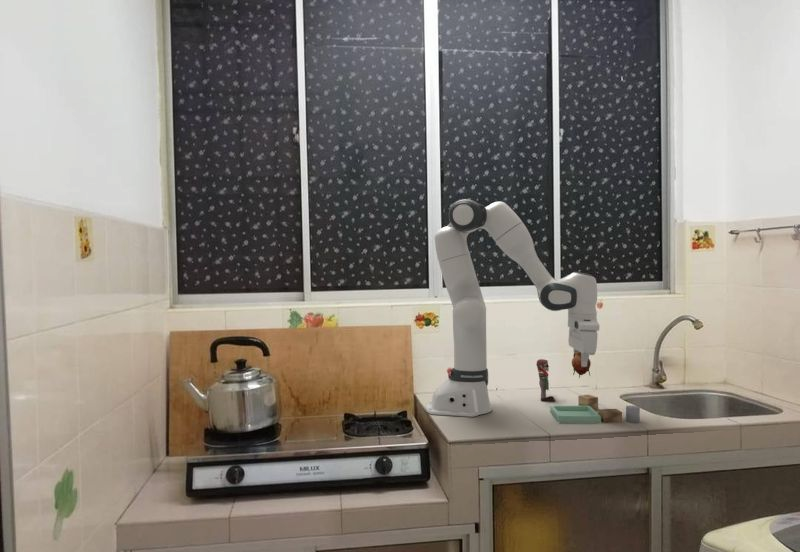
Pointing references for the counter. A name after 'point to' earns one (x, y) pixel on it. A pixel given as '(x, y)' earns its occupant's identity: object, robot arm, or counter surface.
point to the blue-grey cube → (633, 414)
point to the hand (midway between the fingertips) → (580, 364)
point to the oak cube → (588, 401)
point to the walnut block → (610, 415)
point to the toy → (544, 380)
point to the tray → (575, 414)
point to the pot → (577, 366)
